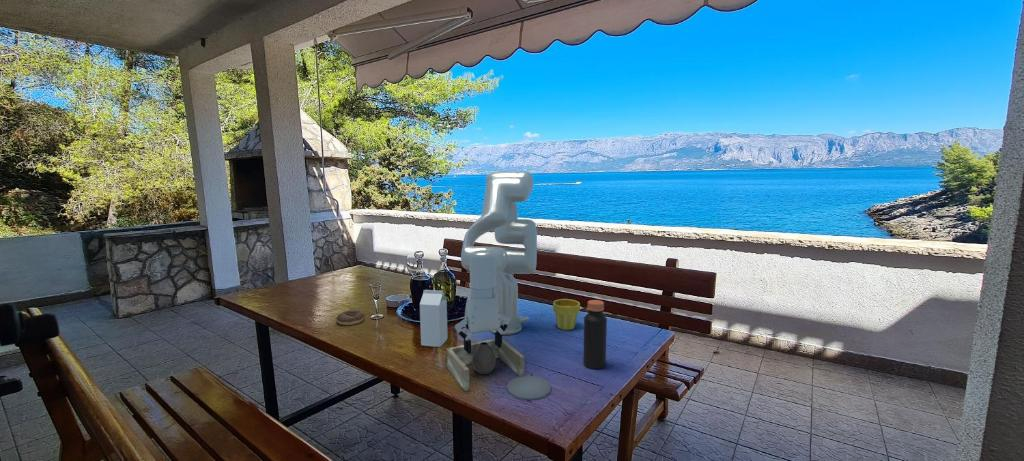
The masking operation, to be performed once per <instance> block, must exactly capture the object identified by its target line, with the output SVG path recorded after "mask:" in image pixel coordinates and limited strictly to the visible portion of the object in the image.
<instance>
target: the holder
mask: <svg viewBox="0 0 1024 461" xmlns="http://www.w3.org/2000/svg"><path fill="white" fill-rule="evenodd" d="M481 342H487V343H488V345H489V346H490V347H491V349H492V350H493V351H494V354H495V358H496V359H498V358H499V359H500V360H501V361H502V362H503V363H505V364H506V366H508V367H509V368H510V369H511V370H512V371H513V372H515V374H517V375H518V377H520V376H525V356H524V354H522V353H520V352H519V351H518V350H517V349H516V348H514V346H512V345H510V344H509V343H508V342H507V341H506V340H504V338H502V344H501V348H499V347H497V346H496V345H495V338H493V339H488V340H483V341H476V342H471V354H468V353H467V352H466V351H465V350H464V344H461V345H457V346H453V347H447V348H445V353H446V369H447V370H448V371H449V372H450V373H451V375H452V376H453V377H454V379H455V380H456V382H457V383H458V384H459V385H460V386H461V388H462V389H463V390H464V391H465V392H467V391H470V369H469V368H468V367H467V365H470V364H472V365H473V354H474V352H475V350H476V349H477V348H478V346H479V344H480V343H481Z"/></svg>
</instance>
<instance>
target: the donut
mask: <svg viewBox="0 0 1024 461" xmlns="http://www.w3.org/2000/svg"><path fill="white" fill-rule="evenodd" d="M365 317H366V316H365V313H364V312H363V311H361V310H359V309H349V310H345V311H342V312H340V313H338V314H337V317H336V321H337V323H338V324H339V325H342V326H352V325H358V324H360V323H362V322H363V321H364V319H365Z"/></svg>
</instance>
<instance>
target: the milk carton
mask: <svg viewBox="0 0 1024 461" xmlns="http://www.w3.org/2000/svg"><path fill="white" fill-rule="evenodd" d="M447 307H448V304H447V298H446V297H445V294H444V292H443V290H435V289H434V290H433V289H432V290H431V289H423V292H422V296H421V299H420V302H419V321H420V322H419V323H420V345H421V346H424V347H435V348H436V347H437V348H440V347H441V348H442V346H443V345H444V343H445V342H446V341H447V340H448V310H447V309H448V308H447Z"/></svg>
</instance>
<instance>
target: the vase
mask: <svg viewBox="0 0 1024 461" xmlns="http://www.w3.org/2000/svg"><path fill="white" fill-rule="evenodd" d="M480 342H481V343H480V344H479V346H478V348H477V349H476V350H475V352H474V354H473V363H472V366H473V368H474V370H475V371H476V373H478V374H479V375H488V374H490V373H491V372H492V371H493V370H494V369H495V367H496V359H497V358H495V354H494V351H493V350H492V349H491V347H490V346H489V345H488V343H487V342H482V341H480Z"/></svg>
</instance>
